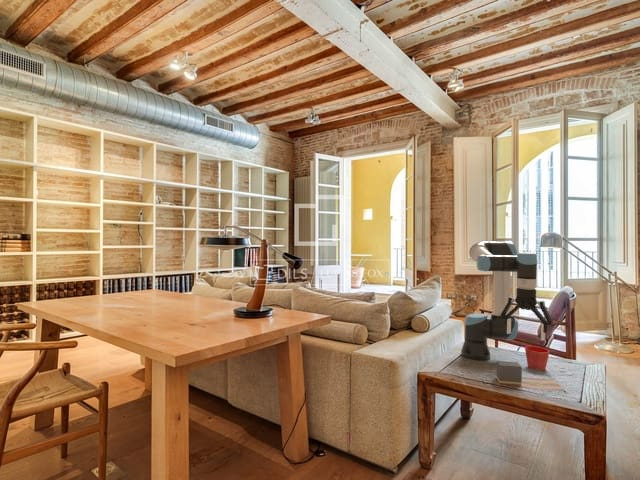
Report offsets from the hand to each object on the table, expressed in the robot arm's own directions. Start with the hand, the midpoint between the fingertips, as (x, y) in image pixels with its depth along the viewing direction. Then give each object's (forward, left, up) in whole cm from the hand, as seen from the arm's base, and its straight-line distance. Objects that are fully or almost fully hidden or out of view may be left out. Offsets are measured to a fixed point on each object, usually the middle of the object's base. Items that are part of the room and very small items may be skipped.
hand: (525, 336), depth 161 cm
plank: (-8, +4, -24) cm, 25 cm away
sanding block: (-8, -4, -23) cm, 25 cm away
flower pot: (-32, +16, -24) cm, 43 cm away
